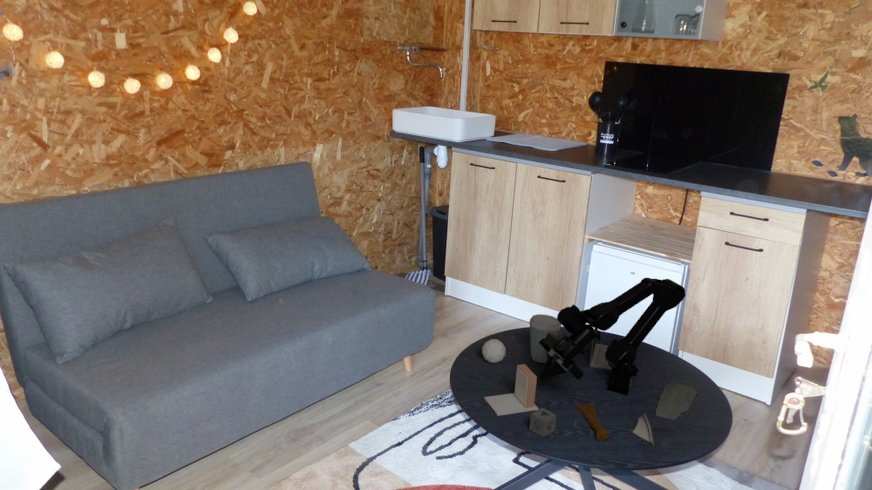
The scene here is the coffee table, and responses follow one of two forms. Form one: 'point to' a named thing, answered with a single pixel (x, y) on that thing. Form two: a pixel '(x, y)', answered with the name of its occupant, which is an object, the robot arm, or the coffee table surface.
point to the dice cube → (542, 422)
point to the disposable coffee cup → (541, 334)
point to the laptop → (598, 356)
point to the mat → (507, 404)
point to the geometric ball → (493, 351)
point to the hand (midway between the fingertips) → (540, 378)
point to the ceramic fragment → (644, 429)
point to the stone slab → (675, 400)
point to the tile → (525, 386)
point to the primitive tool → (593, 420)
